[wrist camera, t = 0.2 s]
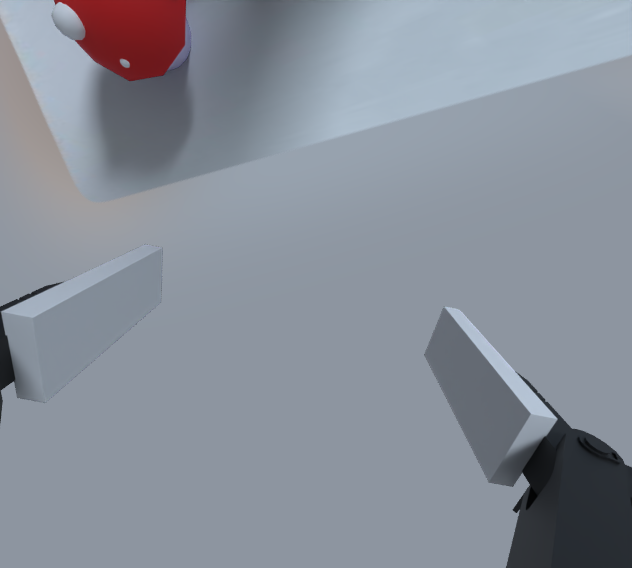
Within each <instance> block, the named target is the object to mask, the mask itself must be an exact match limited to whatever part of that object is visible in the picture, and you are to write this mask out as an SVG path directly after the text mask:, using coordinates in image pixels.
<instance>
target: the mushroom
mask: <svg viewBox="0 0 632 568" xmlns="http://www.w3.org/2000/svg"><path fill="white" fill-rule="evenodd" d="M54 2H55V6H53V11H52V18H53V21H54V24H55V26H56V27H57V28H58V29H59V30H60V32H61V33H62V34H63V35H65V36H67V37H69V38H70V39H72V40H75V41H76V42H77V43H78V44H79V45H80V46H81V48H82V49H83V50H84V51H85V52H86V53H87V54H88V55H89V56H90V57H91V58H92V59H93V60H94V61H95V62H96V63H98V64H100V65H102V66H104V67H105V68H107V69H109V70H111V71H112V72H114V73H116V74H118V75H120V76H121V77H123V78H125V79H127V80H128V81H134V80H140V79H145V78H151V77H157V76H162V75H164V74H165V72H166V71H169V70H172V69H175V68H178V67H180V65H181V64H182V63H183V62H184V61H185V60H186V59H187V57H188V54H189V51H190V48H191V31H190V28H189V25H188V22H187V19H186V0H54Z"/></svg>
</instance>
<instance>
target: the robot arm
mask: <svg viewBox="0 0 632 568" xmlns="http://www.w3.org/2000/svg"><path fill="white" fill-rule="evenodd" d="M162 254H163V248H162V247H157V246H152V245H148V244H144V245H142V246H140V247H138V248H136V249H134V250H132V251H129V252H127V253H125V254H123V255H121V256H119V257H117V258H115V259H112V260H110V261H108V262H106V263H104V264H102V265H100V266H97V267H95V268H93V269H91V270H89V271H87V272H85V273H83V274H81V275H78V276H76V277H74V278H72V279H70V280H68V281H65V282H61V283H56V284H53V285H48V286H45V287H43V288H40V289H38V290H36V291H34V292H32V293H31V294H27V295H25V296H23V297H20V298H19V300H17V299H16V300H14V301H12V302H9V303H7V304H5V305H3V306H1V307H0V421H1V411H2V402H3V400H2V395H1V390H2V389H3V388H5V387H6V386H7V385H9V384H10V383H12V382H13V381H14V383H15V388H16V393H17V398H21V399H27V400H33V401H38V402H43V403H46V402H47V401H48V400H49V399H50V398H52V396H54V395H55V394H56V393H57V392H58V391H60V390H61V389H62V388H63V387H64V386H65V385H66V384H68V383H69V382H70V381H71V380H72V379H73V378H74V377H76V376H77V375H78V374H79V373H80V372H81V371H83V370H84V369H85V368H86V367H87V366H88V365H89V364H90V363H92V362H93V361H94V360H95V359H96V358H98V357H99V356H100V355H101V354H102V353H103V352H104V351H106V350H107V349H108V348H109V347H110V346H111V345H112V344H114V343H115V342H116V341H117V340H118V339H119V338H121V337H122V336H123V335H124V334H125V333H126V332H127V331H129V330H130V329H131V328H132V327H133V326H134V325H136V324H137V323H138V322H139V321H140V320H141V319H142V318H144V317H145V316H146V315H147V314H148V313H149V312H151V310H153V309H154V308H155V307H156V306H157V305H159V304H160V303H161V291H162V290H161V289H162ZM424 355H425V357H426V359H427V361H428V363H429V365H430V367H431V369H432V371H433V373H434V375H435V377H436V379H437V381H438V383H439V385H440V387H441V389H442V391H443V393H444V395H445V397H446V399H447V401H448V403H449V405H450V407H451V409H452V411H453V413H454V415H455V416H456V419H457V421H458V422H459V425H460V426H461V428H462V430H463V432H464V434H465V436H466V438H467V440H468V442H469V444H470V446H471V448H472V450H473V452H474V454H475V456H476V458H477V460H478V462H479V464H480V466H481V468H482V470H483V472H484V474H485V476H486V478H487V480H488V482H489V483H494V484H500V485H506V486H512V487H513V486H514V484H515V483H516V481H517V480H518V478H519V476H520V475H521V474H522V473H523V474H524V476H525V477H526V479H527V481H528V482H529V484H530V486H529V487H528V488H527V490H526V491H525V493H524V494H523V496H522V497H521V499H520V500H519V501H518V503H517V504H516V506H515V507H514V509H513V511H515V512H516V513H517V512H518V511H519V510H520V512H519V516H518V520H517V525H516V529H515V533H514V537H513V541H512V546H511V549H510V554H509V558H508V562H507V566H506V568H632V467H629V466H627V465H625V464H624V461H623V459H622V458H621V457H620V456H619V455H618V454H617V452H616V451H615V450H613V449H612V448H611V447H609V446H608V445H607V444H606V443H604V442H603V441H601V440H600V439H598V438H596V437H595V436H593V435H591V434H589V433H586V432H584V431H581V430H577V429H572V428H571V427H570V426H569V425H568V424H567V423H566V422H565V421H564V420H563V418H562V417H561V416H560V415H559V414H558V413H557V412H556V411H555V410H554V409H553V408H552V407H551V406H550V404H549V403H548V402H545V399H544V398H543V397H542V396H541V395H540V394H539V393H537V390H536V389H535V388H534V387H533V386H532V385H531V384H530V383H529V381H527V380H526V379H525V378H524V377H522V376H521V375H520V374H518V373H517V372H516V371H514V370H513V369H512V368H511V367H510V366H509V364H508V363H507V362H506V361H505V360H504V359H503V358H502V357H501V355H500V354H499V353H498V352H497V351H496V350H495V349H494V348H493V346H492V345H491V344H490V343H489V342H488V341H487V340H486V339H485V337H483V335H482V334H481V333H480V332H479V331H478V330H477V329H476V327H475V326H474V325H473V324H472V323H471V322H470V321H469V320H468V318H466V316H465V315H464V314H463V313H462V312H461V311H460V310H459V309H454V308H449V307H445V306H444V308H443V310H442V312H441V315H440V318H439V320H438V322H437V325H436V327H435V330H434V332H433V335H432V337H431V339H430V342H429V345H428V347H427V349H426V352H425V354H424Z"/></svg>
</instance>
